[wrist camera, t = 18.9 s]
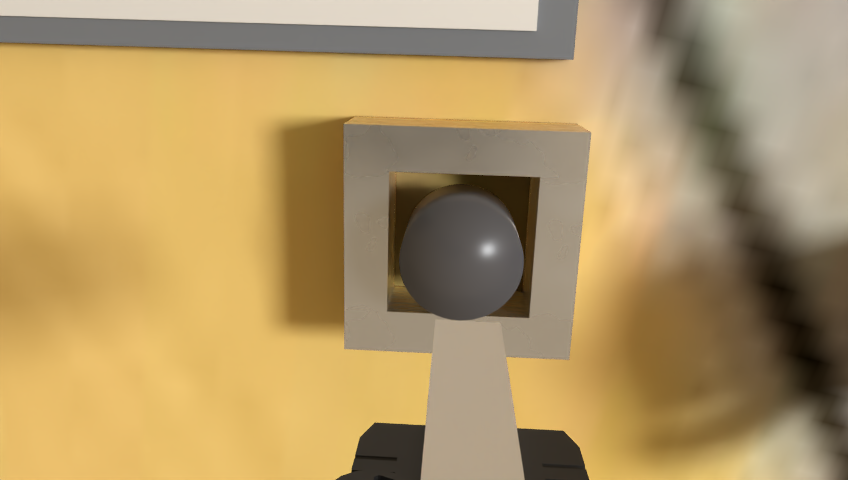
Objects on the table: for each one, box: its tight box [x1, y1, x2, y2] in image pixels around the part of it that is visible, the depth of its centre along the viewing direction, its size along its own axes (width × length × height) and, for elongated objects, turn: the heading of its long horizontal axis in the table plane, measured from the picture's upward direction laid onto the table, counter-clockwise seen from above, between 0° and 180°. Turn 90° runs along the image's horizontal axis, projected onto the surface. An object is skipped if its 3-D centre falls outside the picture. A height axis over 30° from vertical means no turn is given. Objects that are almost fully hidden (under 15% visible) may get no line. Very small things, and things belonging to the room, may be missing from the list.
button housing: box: [344, 116, 591, 360], centre depth 27 cm, size 9×9×3 cm
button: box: [399, 184, 524, 320], centre depth 25 cm, size 4×4×3 cm
